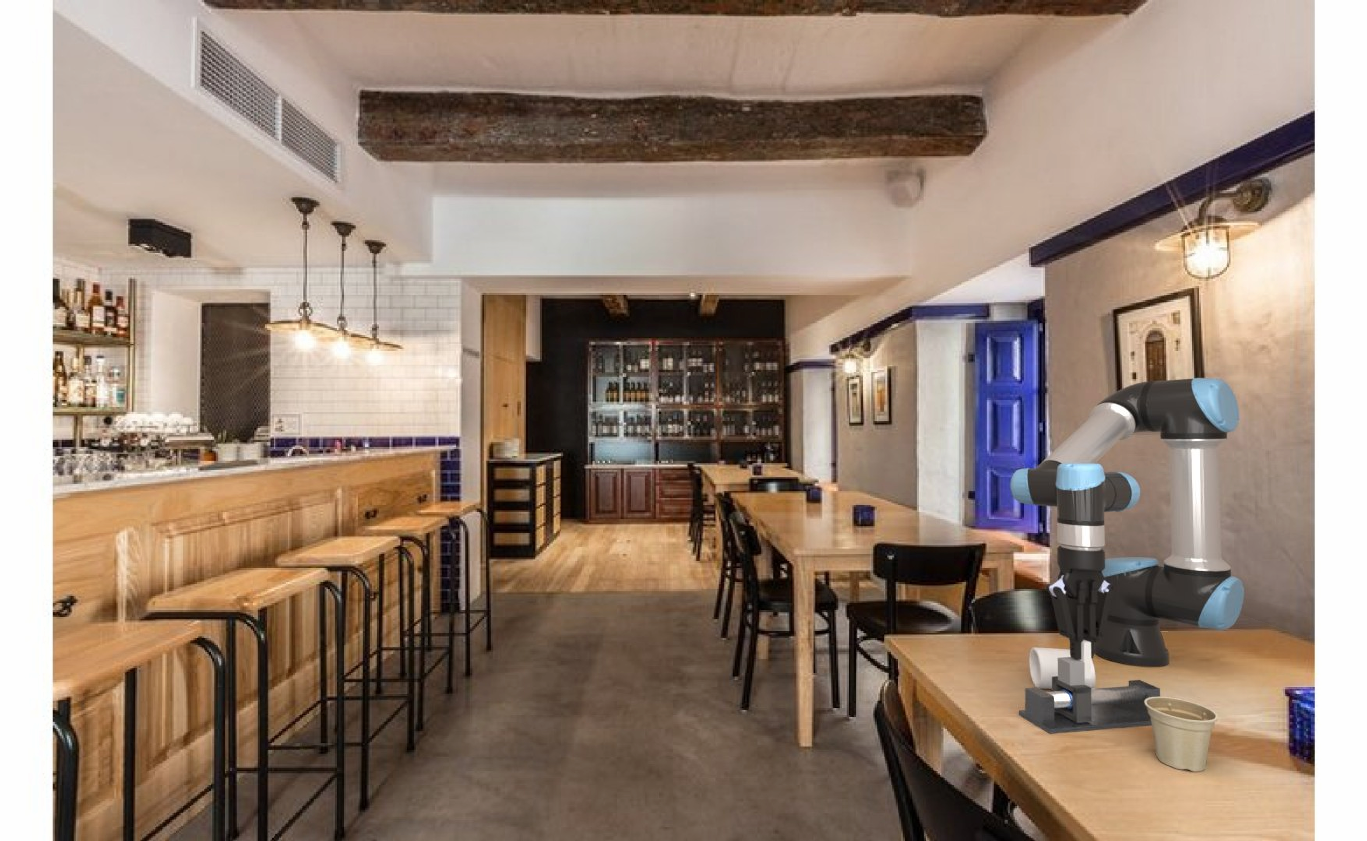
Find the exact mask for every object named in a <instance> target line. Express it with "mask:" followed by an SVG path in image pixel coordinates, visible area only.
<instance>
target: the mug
mask: <svg viewBox="0 0 1367 841" xmlns="http://www.w3.org/2000/svg"><path fill="white" fill-rule="evenodd" d="M1062 657H1071V656H1070V648H1067V649H1066V648H1051V647H1050V648H1049V647H1036V646H1034V647H1032V648H1031V649H1030V652H1029V655H1028V658H1029V659H1028V660H1029V661H1028V666H1029V673H1030V677H1031V680H1032V683H1033V686H1034V687H1037V688H1039V689H1042V690H1043V689H1046V690H1052V677H1055V676H1058V658H1062ZM1085 685H1087V686H1089V687H1091V689H1095V685H1096V669H1095V665H1094V661H1093V658H1091V679H1085Z"/></svg>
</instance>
